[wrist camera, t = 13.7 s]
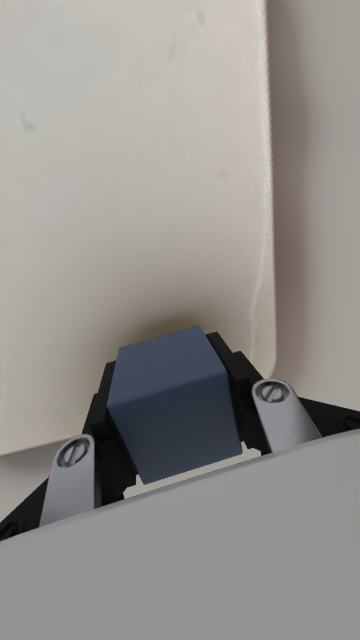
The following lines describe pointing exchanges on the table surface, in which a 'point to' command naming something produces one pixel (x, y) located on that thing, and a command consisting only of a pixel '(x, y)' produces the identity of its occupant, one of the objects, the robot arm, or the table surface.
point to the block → (173, 404)
